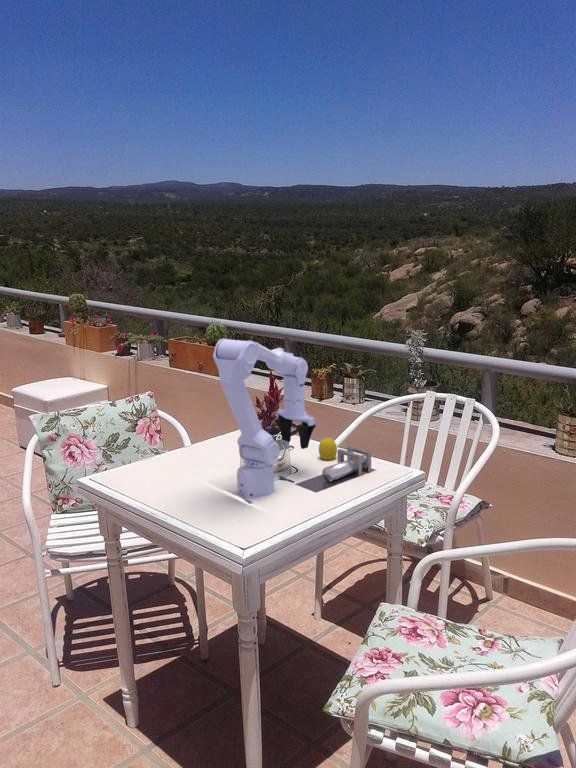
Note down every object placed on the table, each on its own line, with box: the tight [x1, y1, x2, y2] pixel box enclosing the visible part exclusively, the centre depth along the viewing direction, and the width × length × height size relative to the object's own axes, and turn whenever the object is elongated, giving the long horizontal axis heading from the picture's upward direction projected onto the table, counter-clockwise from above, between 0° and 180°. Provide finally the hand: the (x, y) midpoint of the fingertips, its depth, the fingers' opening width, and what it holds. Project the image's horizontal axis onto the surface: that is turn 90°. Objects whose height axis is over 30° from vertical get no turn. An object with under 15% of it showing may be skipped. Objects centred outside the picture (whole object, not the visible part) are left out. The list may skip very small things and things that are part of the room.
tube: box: [321, 454, 365, 482], centre depth 185 cm, size 15×4×4 cm, turn 131°
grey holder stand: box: [294, 445, 376, 493], centre depth 184 cm, size 24×9×7 cm, turn 131°
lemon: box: [318, 436, 338, 461], centre depth 199 cm, size 6×6×8 cm
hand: (295, 445), depth 187 cm, fingers open, 7 cm apart
